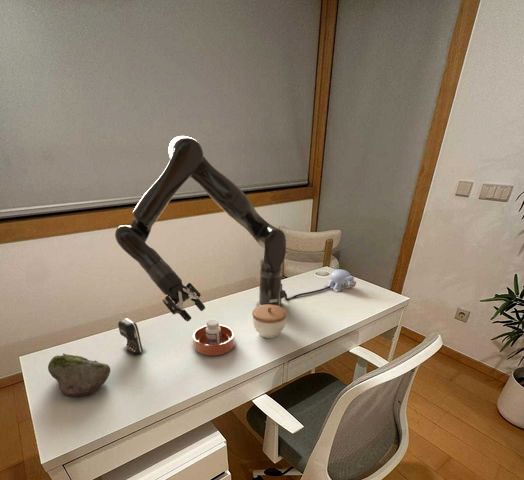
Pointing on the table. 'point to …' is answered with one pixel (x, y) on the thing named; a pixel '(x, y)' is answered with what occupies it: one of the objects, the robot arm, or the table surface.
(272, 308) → the lidded bowl
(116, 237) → the robot arm
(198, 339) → the terracotta bowl
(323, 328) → the table surface
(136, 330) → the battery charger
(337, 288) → the hippopotamus toy
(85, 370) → the stone
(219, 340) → the pill bottle
